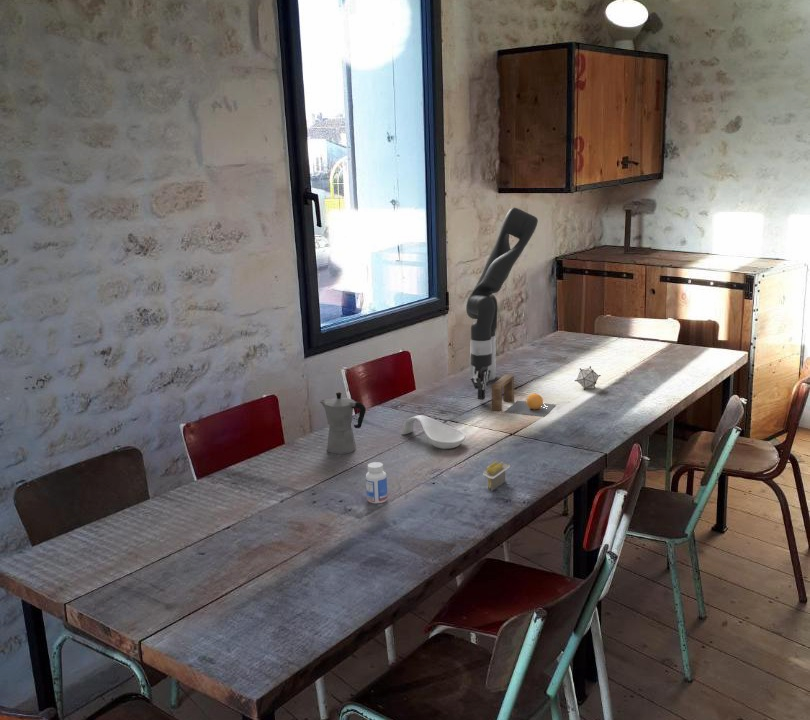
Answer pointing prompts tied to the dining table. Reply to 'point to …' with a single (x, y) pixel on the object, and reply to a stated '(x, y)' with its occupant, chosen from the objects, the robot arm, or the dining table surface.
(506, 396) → the bridge
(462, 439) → the spoon rest
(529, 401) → the ball
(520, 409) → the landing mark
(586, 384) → the game die
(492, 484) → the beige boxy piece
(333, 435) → the coffeepot
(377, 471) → the pill bottle
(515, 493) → the dining table surface
